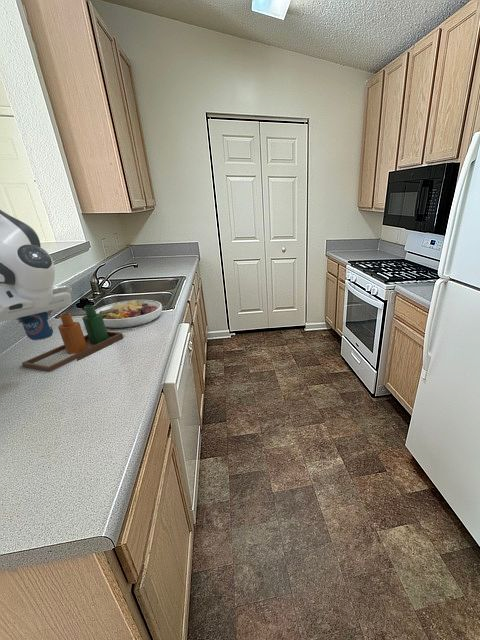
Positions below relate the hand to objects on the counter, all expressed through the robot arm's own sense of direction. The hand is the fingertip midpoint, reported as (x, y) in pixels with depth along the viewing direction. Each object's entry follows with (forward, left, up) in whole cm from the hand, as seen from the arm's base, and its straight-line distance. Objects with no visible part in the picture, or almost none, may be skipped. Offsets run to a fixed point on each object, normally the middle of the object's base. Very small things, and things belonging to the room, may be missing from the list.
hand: (33, 317), depth 106 cm
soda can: (0, -1, -7) cm, 7 cm away
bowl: (+26, +43, -18) cm, 53 cm away
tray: (+7, +11, -18) cm, 22 cm away
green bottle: (+14, +18, -18) cm, 29 cm away
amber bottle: (+7, +11, -18) cm, 22 cm away
